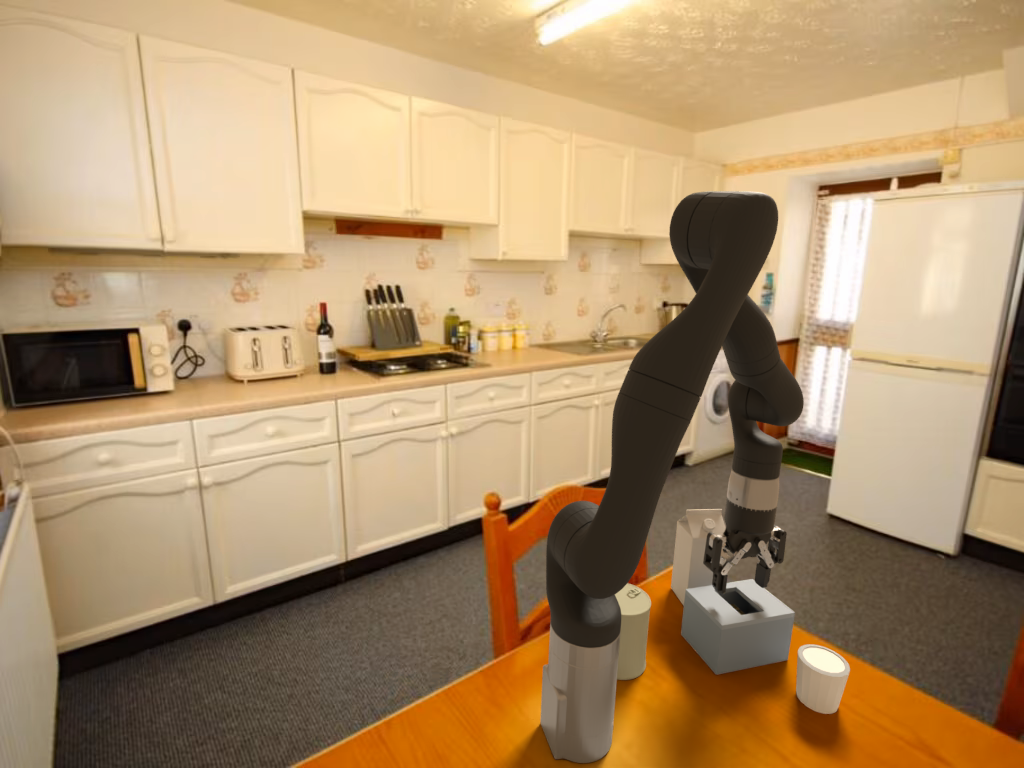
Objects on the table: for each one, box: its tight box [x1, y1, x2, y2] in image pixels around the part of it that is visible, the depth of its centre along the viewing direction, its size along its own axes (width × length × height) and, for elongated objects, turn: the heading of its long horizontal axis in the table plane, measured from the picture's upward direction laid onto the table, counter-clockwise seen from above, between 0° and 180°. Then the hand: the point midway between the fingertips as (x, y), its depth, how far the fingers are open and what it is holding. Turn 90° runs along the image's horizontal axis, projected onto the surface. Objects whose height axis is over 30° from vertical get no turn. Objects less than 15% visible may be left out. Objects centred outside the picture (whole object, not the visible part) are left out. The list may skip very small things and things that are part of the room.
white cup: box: [795, 643, 851, 715], centre depth 80 cm, size 7×7×7 cm
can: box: [615, 582, 652, 681], centre depth 86 cm, size 9×9×12 cm
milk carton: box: [670, 508, 726, 607], centre depth 103 cm, size 7×7×19 cm
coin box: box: [680, 578, 796, 675], centre depth 90 cm, size 14×10×9 cm
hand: (740, 588), depth 89 cm, fingers open, 8 cm apart
